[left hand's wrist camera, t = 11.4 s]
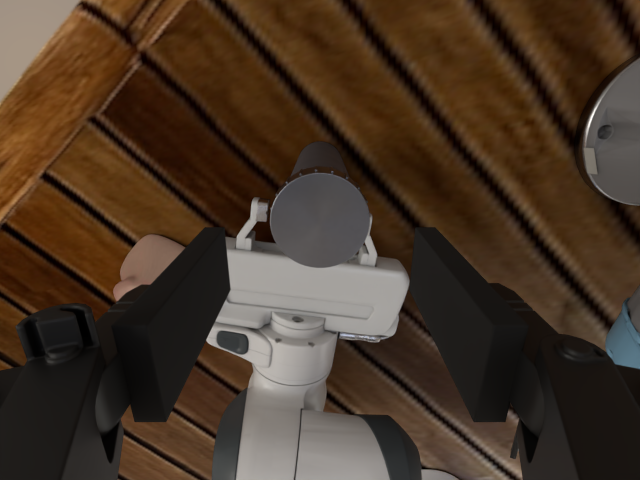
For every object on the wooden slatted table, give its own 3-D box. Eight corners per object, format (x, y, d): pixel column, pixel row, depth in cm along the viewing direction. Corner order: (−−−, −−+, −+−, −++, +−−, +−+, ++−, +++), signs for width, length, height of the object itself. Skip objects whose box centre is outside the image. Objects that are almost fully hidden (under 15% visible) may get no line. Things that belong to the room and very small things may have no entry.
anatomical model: (105, 238, 36) (217, 267, 37) (125, 226, 40) (226, 252, 41) (96, 342, 40) (196, 365, 41) (115, 322, 44) (206, 344, 45)
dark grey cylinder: (317, 131, 36) (315, 157, 18) (351, 161, 37) (381, 215, 19) (288, 166, 37) (258, 224, 19) (322, 194, 38) (324, 275, 20)
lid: (314, 144, 19) (314, 148, 17) (385, 207, 20) (392, 217, 18) (255, 216, 20) (248, 228, 19) (324, 271, 22) (324, 287, 20)
